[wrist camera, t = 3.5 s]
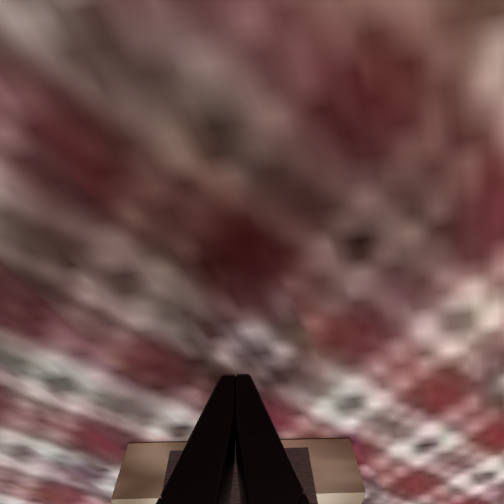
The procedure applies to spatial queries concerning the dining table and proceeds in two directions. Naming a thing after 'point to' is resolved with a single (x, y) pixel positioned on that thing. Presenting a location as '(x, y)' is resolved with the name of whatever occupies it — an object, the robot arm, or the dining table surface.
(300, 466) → the carriage
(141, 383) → the dining table surface
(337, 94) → the dining table surface
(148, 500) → the deck
